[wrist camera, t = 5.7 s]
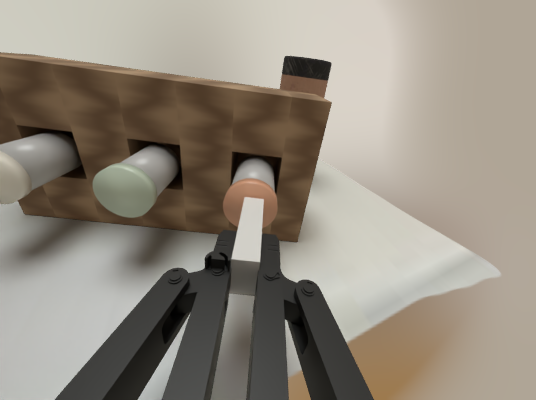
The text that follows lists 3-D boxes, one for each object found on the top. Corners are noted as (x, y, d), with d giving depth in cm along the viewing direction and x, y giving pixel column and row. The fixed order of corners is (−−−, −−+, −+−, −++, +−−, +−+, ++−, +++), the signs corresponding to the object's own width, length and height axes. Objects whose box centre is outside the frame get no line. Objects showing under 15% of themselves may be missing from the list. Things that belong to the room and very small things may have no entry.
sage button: (100, 214, 18) (85, 164, 16) (142, 178, 24) (135, 139, 22) (155, 220, 18) (147, 171, 16) (183, 183, 25) (180, 144, 22)
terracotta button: (222, 227, 19) (223, 180, 17) (234, 189, 25) (236, 151, 23) (273, 232, 19) (281, 187, 17) (272, 193, 25) (278, 156, 23)
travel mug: (296, 188, 40) (323, 59, 30) (260, 176, 43) (275, 54, 33) (310, 176, 46) (337, 64, 36) (278, 165, 49) (295, 59, 39)
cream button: (-29, 201, 18) (-63, 147, 16) (47, 168, 24) (31, 126, 22) (29, 207, 18) (3, 155, 16) (90, 172, 24) (77, 131, 22)
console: (24, 214, 26) (-61, 48, 18) (76, 183, 33) (32, 54, 25) (297, 242, 27) (331, 102, 19) (291, 207, 34) (315, 94, 26)
